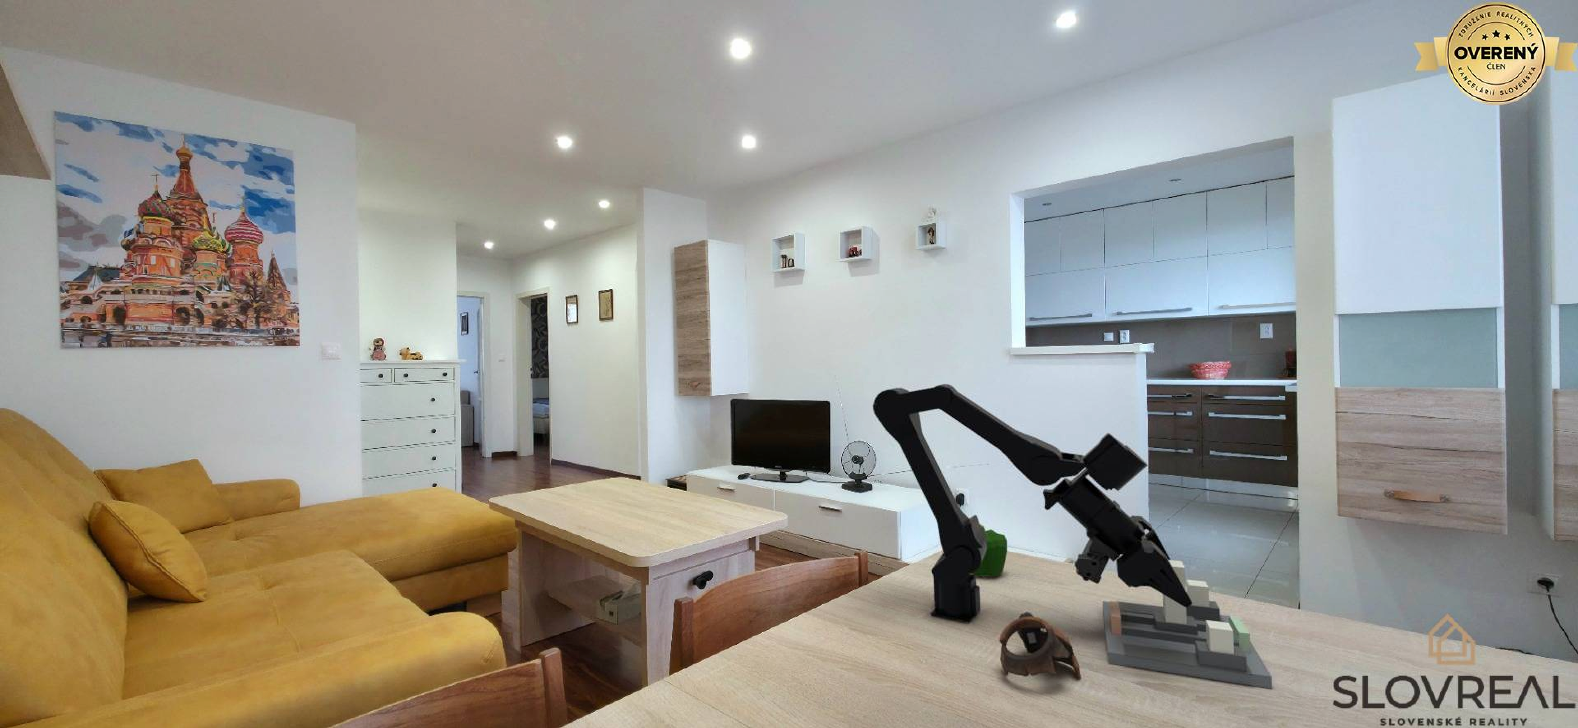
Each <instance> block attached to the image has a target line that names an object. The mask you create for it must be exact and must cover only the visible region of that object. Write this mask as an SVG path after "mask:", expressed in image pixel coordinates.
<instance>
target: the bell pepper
mask: <svg viewBox="0 0 1578 728" xmlns="http://www.w3.org/2000/svg"><path fill="white" fill-rule="evenodd" d="M980 526H981V529H982V530H983V532H984V533H985V534H986V535H987V536H988V537H987V539H986V544H987V550H986V553H985V556H984V558H983V560H982V563H981V565H980V567H979V568H978V569H977V570H976V571H975V572H973V573H970V574H971V575H975V576H976V577H985V576H987V577H993V578H996V577H999V576H1001V574H1002V573H1003V571H1004V569H1005V565H1006V560H1007V554H1008V539H1007V538H1006V536H1005V534H1002V533H998V532H996V531H995V530H993V529H988V530H986V528H985V526H984V525H982V524H981V523H980Z"/></svg>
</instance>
